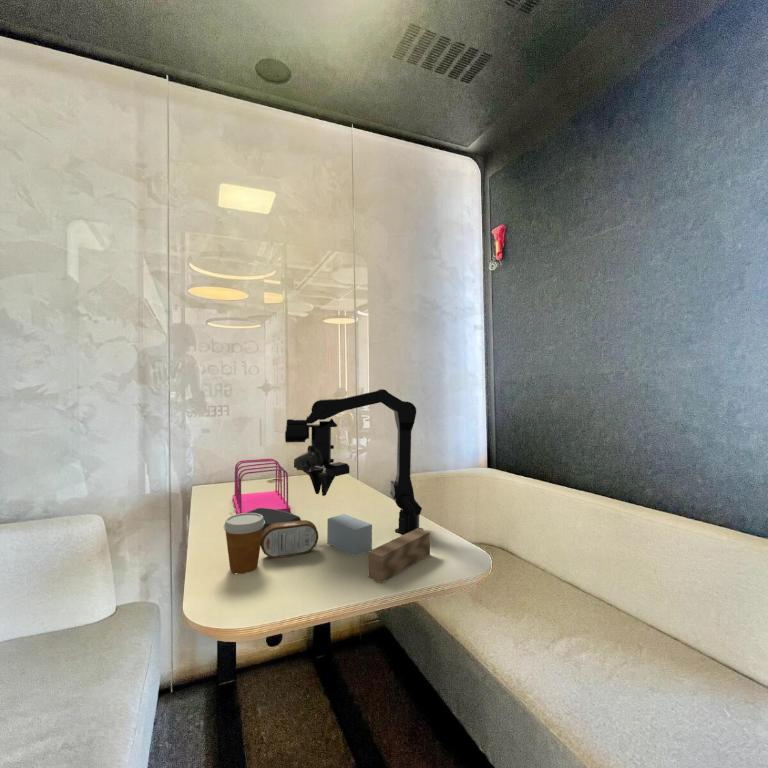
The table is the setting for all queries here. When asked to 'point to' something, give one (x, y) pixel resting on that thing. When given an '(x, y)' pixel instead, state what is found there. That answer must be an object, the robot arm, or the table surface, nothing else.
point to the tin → (289, 538)
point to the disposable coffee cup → (244, 541)
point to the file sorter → (260, 499)
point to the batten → (398, 554)
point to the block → (349, 534)
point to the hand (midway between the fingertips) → (320, 494)
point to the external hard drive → (275, 516)
